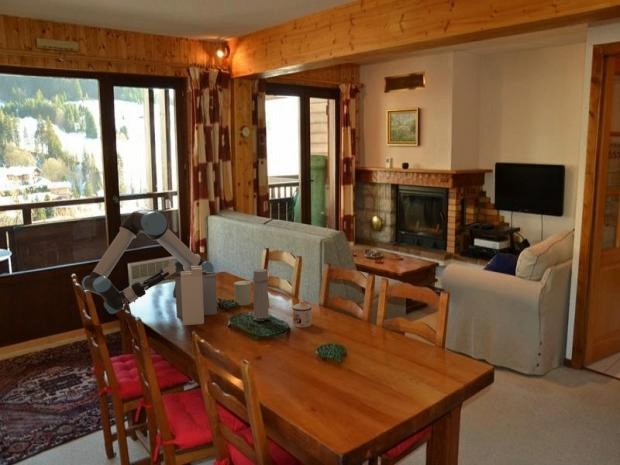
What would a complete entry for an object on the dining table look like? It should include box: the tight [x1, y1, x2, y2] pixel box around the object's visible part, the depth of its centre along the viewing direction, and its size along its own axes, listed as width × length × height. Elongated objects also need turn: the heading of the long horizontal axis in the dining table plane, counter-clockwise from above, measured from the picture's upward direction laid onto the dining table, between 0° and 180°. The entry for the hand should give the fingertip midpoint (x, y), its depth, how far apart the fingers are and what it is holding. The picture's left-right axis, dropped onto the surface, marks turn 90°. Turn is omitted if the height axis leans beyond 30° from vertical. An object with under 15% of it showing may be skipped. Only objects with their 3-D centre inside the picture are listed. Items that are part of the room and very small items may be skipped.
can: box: [233, 280, 252, 307], centre depth 293 cm, size 9×9×12 cm
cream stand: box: [181, 266, 205, 326], centre depth 260 cm, size 10×10×27 cm
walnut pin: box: [161, 271, 206, 281], centre depth 271 cm, size 3×22×3 cm, turn 103°
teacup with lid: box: [292, 300, 313, 329], centre depth 254 cm, size 12×9×12 cm
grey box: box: [174, 271, 218, 318], centre depth 273 cm, size 7×20×20 cm, turn 103°
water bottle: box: [252, 268, 270, 318], centre depth 262 cm, size 9×8×25 cm
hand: (174, 267), depth 269 cm, fingers open, 8 cm apart
